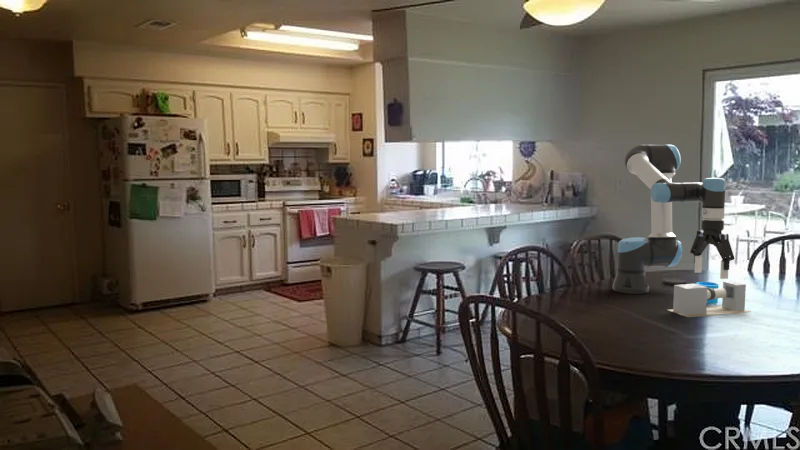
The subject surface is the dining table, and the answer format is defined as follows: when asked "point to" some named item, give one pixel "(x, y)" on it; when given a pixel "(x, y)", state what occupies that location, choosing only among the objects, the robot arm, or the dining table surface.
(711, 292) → the tube
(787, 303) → the dining table surface
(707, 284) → the mug
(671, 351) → the dining table surface
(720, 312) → the mount board
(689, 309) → the sleeve
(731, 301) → the socket
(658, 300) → the dining table surface
